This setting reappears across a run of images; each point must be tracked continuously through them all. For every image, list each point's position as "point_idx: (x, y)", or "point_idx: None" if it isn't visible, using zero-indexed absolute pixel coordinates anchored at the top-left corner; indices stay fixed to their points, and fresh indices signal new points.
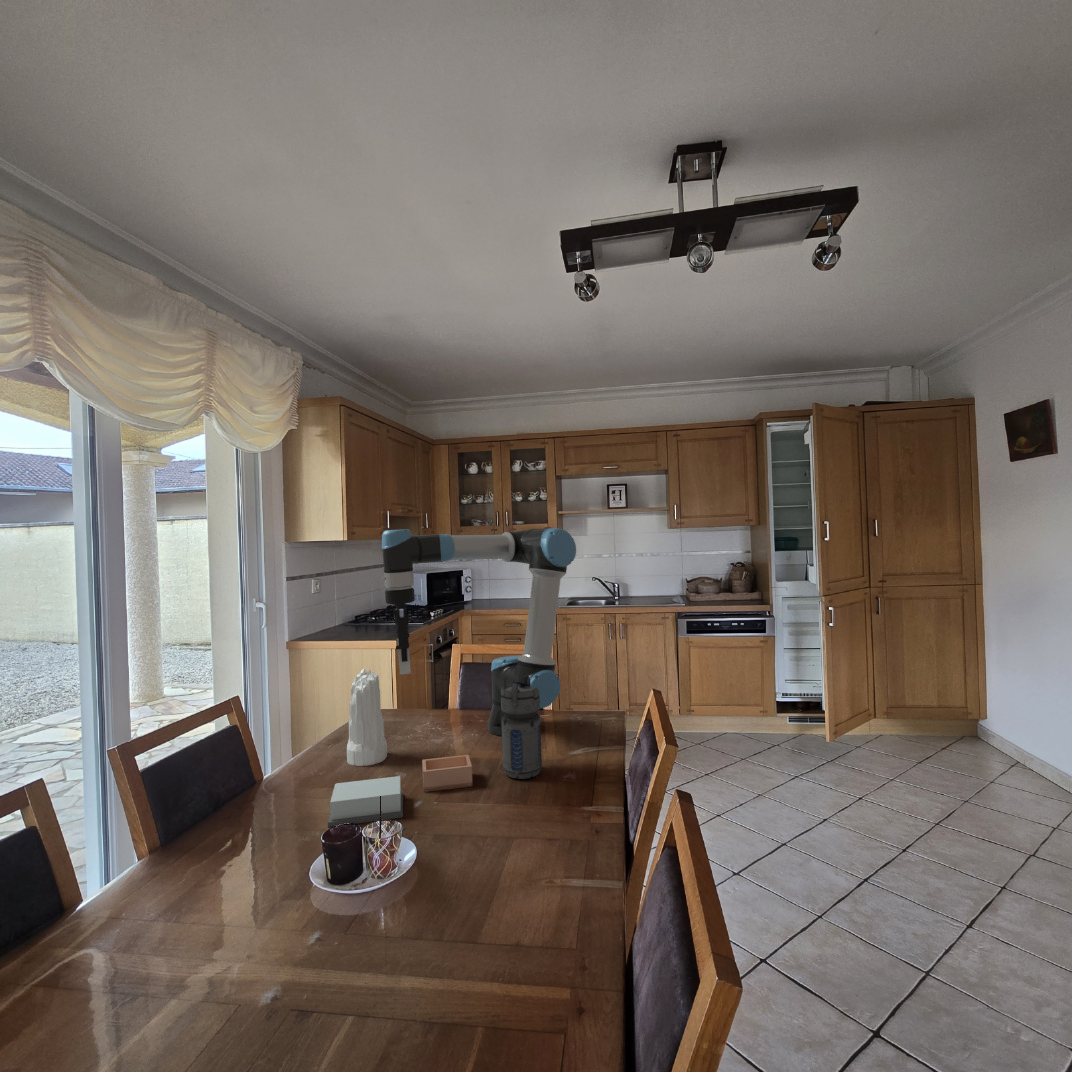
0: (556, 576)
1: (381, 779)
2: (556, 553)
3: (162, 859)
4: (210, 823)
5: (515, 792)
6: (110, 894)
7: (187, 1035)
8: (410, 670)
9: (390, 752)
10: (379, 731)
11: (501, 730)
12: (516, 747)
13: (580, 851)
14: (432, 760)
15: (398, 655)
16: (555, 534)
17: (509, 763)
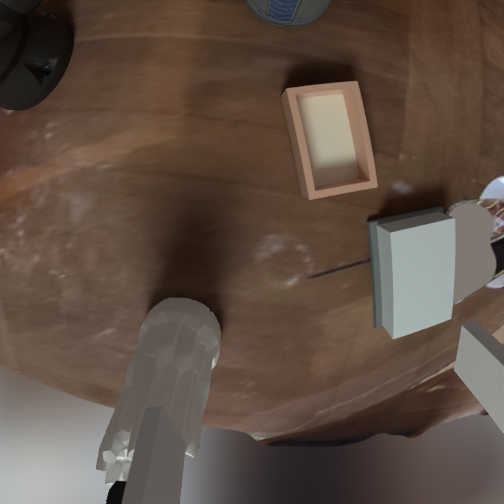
0: None
1: (397, 266)
2: None
3: (438, 418)
4: (383, 427)
5: (369, 21)
6: (469, 413)
7: None
8: (482, 328)
9: (147, 294)
10: (184, 338)
11: (61, 64)
12: None
13: (494, 6)
14: (311, 174)
15: (181, 478)
16: None
17: (324, 9)
